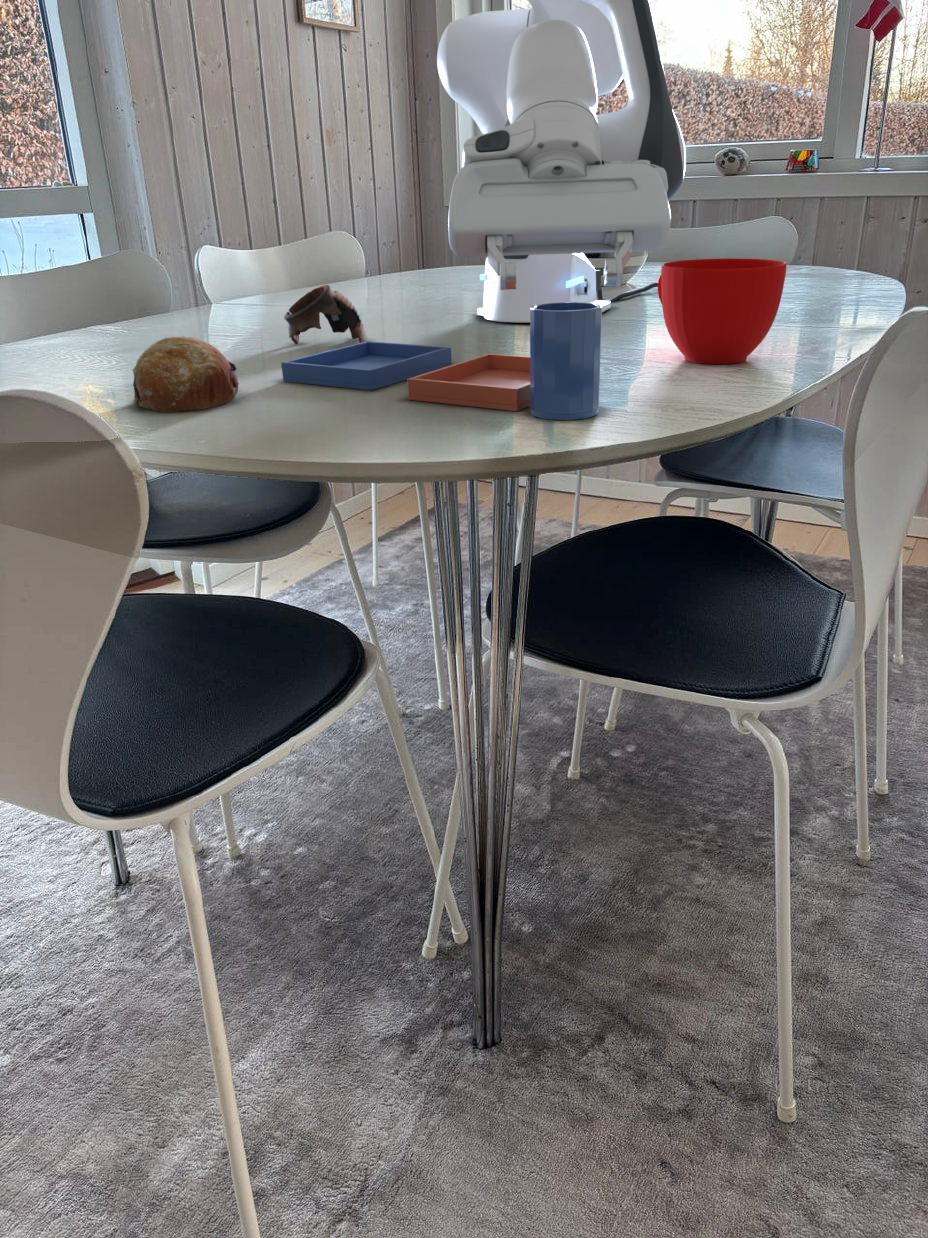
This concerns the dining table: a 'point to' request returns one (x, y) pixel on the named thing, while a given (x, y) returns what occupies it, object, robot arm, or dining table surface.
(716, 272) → the ceramic cup
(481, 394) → the terracotta tray
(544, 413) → the blue tumbler
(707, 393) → the dining table surface
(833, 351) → the dining table surface
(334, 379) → the blue tray
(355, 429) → the dining table surface
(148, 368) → the bread roll
